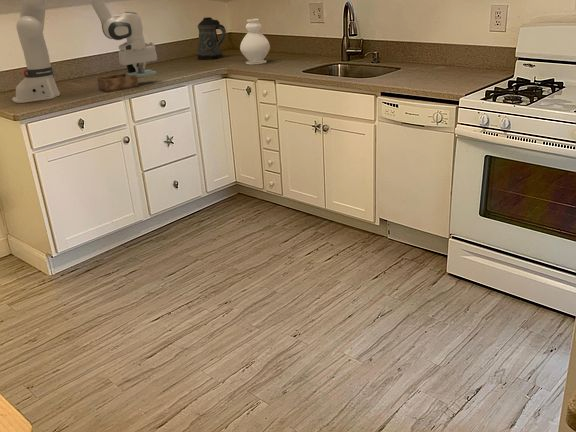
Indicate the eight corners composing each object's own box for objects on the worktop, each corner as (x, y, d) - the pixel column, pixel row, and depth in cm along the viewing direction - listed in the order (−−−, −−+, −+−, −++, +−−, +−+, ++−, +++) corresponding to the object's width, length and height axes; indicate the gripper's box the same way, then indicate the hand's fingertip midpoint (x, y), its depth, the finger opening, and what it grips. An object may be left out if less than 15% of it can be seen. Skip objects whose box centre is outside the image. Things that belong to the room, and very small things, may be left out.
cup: (127, 78, 333) (123, 56, 328) (127, 76, 340) (124, 54, 335) (141, 77, 334) (138, 55, 329) (141, 75, 341) (138, 53, 336)
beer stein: (195, 57, 392) (190, 17, 382) (224, 54, 397) (220, 15, 386) (199, 61, 377) (195, 19, 367) (229, 58, 382) (225, 17, 372)
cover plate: (132, 78, 307) (130, 69, 305) (125, 76, 313) (123, 68, 311) (156, 73, 314) (155, 65, 313) (149, 72, 320) (148, 64, 319)
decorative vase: (270, 64, 352) (267, 20, 342) (240, 65, 352) (236, 21, 342) (271, 59, 368) (268, 17, 358) (242, 60, 369) (239, 18, 359)
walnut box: (107, 92, 300) (105, 80, 297) (99, 89, 308) (97, 77, 305) (138, 86, 309) (136, 75, 307) (129, 84, 317) (127, 72, 315)
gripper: (151, 41, 315) (155, 67, 321) (115, 46, 304) (120, 74, 310) (157, 42, 311) (161, 69, 316) (120, 47, 299) (125, 75, 305)
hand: (140, 71), depth 313 cm, fingers closed on cover plate, 2 cm apart
